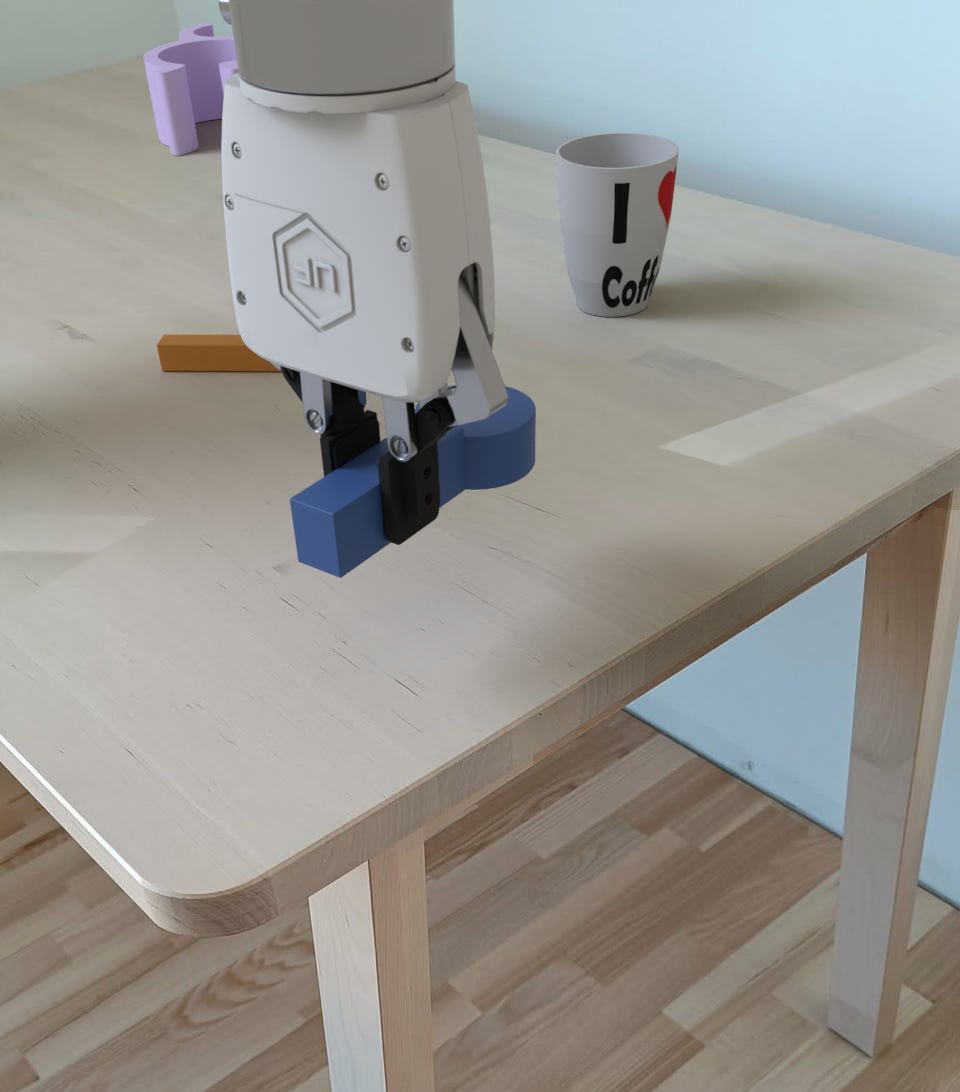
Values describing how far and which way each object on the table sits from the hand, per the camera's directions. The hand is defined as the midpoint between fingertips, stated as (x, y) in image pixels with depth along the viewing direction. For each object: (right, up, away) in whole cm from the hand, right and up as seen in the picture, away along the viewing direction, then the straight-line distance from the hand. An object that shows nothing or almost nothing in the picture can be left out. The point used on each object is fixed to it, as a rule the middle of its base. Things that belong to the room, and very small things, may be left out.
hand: (384, 516), depth 56 cm
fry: (-12, +18, +30) cm, 37 cm away
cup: (+14, +25, +35) cm, 45 cm away
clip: (-22, +59, +73) cm, 96 cm away
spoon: (+1, +1, +1) cm, 2 cm away
